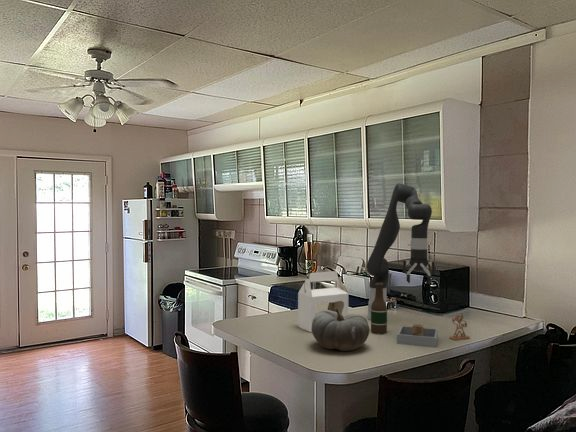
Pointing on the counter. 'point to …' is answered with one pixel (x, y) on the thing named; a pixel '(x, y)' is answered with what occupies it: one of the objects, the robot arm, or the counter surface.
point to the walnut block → (417, 330)
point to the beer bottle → (379, 312)
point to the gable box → (320, 298)
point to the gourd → (340, 330)
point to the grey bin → (417, 337)
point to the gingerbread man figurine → (460, 337)
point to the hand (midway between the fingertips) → (418, 283)
